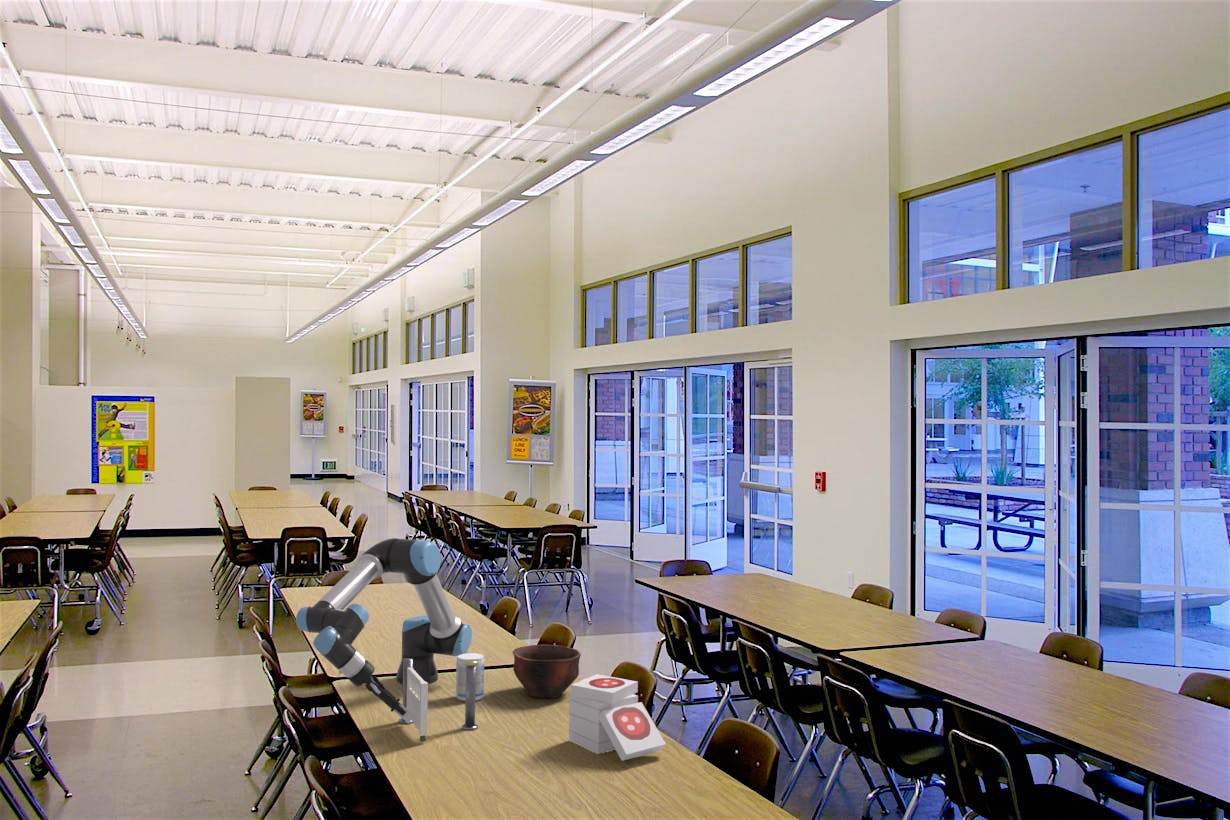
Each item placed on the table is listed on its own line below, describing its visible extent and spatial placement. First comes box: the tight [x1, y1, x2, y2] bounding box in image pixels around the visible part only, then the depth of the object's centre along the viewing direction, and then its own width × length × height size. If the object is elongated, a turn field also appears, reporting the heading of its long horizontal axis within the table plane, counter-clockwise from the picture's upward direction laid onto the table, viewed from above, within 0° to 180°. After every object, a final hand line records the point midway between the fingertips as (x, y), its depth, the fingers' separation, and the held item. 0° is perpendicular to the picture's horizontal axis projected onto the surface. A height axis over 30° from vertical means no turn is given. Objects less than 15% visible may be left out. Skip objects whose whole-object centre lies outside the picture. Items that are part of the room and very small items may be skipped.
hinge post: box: [398, 658, 414, 725], centre depth 305 cm, size 5×5×20 cm
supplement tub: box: [455, 652, 485, 702], centre depth 332 cm, size 10×10×15 cm
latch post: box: [461, 660, 479, 731], centre depth 300 cm, size 5×5×21 cm
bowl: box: [512, 644, 582, 699], centre depth 339 cm, size 25×25×15 cm
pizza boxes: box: [568, 673, 667, 761], centre depth 285 cm, size 19×30×18 cm, turn 38°
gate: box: [406, 667, 429, 743], centre depth 294 cm, size 20×2×18 cm, turn 25°
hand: (411, 719), depth 292 cm, fingers closed
